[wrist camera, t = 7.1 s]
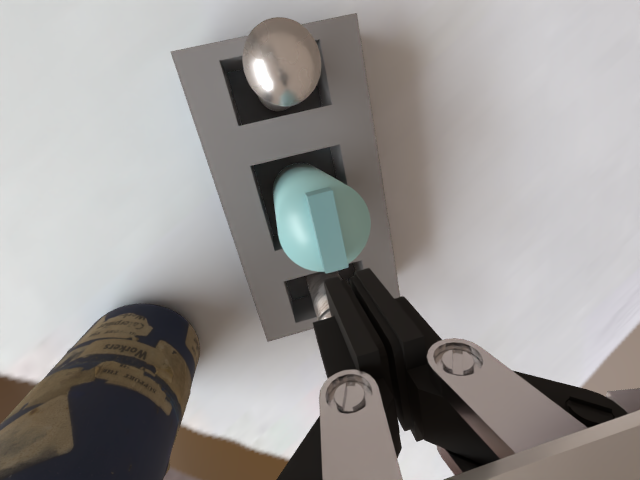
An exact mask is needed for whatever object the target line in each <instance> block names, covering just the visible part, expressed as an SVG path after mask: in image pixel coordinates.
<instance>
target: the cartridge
mask: <svg viewBox="0 0 640 480" xmlns="http://www.w3.org/2000/svg"><path fill="white" fill-rule="evenodd" d="M273 199H274V207H275V214H276V222H277V230H278V236H279V241H280V243H281V246H282V248H283V250H284V252H285V253H286V254H287V256H288V257H289V258H290V259H291V260H292V261H293V262H295V263H296V264H297V265H299V266H301V267H303V268H305V269H308V270H311V271H317V272H325V273H326V274H327V273H331V272H334V271H338V270H342V269H345V268H349V266H348V264H349V263H350V262H352V261H353V260H354V259H355V258H356V257H357V256H358V255H359V254H360V253H361V251H362V250H363V248H364V247H365V245H366V243H367V241H368V238H369V234H370V228H371V220H370V214H369V210H368V207H367V205H366V203H365V201H364V200H363V198H362V197H361V196H360V195H359V194H358V193H357V192H356V191H355V190H354V189H352V188H351V187H349V186H347V185H346V184H344V183H342V182H340V181H339V180H337V179H335V178H333V177H332V176H330V175H328V174H327V173H325V172H323V171H321V170H320V169H318V168H316V167H314V166H312V165H310V164H307V163H294V164H291V165H288V166H287V167H285V168H284V169H282V170H281V171H280V172H279V173H278V175H277V176H276V178H275V181H274V184H273Z"/></svg>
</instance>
